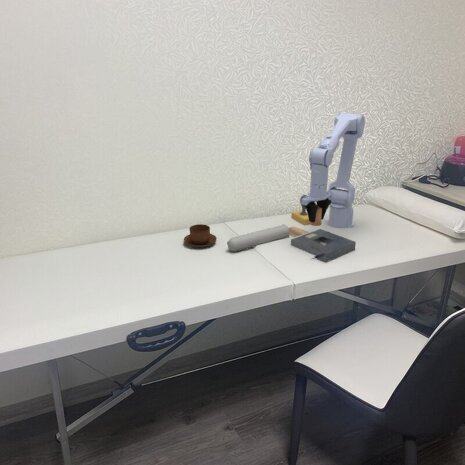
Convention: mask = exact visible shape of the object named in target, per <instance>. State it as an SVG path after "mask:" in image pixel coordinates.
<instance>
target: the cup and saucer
mask: <svg viewBox="0 0 465 465" xmlns="http://www.w3.org/2000/svg"><path fill="white" fill-rule="evenodd" d="M210 230H211V227H210V226H209V225H207V224H202V223H201V224H194V225H191V226H189V234H187V235H186V236H184V238H183V242H184V244H186V245H187V246H189V247H194V248H205V247H210V246H212V245H213V244H215V243H216V241H217V236H216V235H215V234H212V233H211V231H210Z"/></svg>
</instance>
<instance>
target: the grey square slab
mask: <svg viewBox="0 0 465 465" xmlns="http://www.w3.org/2000/svg"><path fill="white" fill-rule="evenodd" d="M322 243H323V244H322ZM356 244H357V242H356V241H355V240H352V239H349V238H347V237H344V236H340V235H338V234H335V233H334V232H330V231H327V230H325V229H322V228H319V229H316V230H314V231H311V232H308V233H305V234H302V235H299V236H297V237H293V238H292V239H290V246H293V247H295V248H297V249H299V250H302V251H304V252H306V253H309V254H311V255H314V256H313V258H315V259H316V258H317V259H316V260H318V261H320V262H321V261H322V262H324V263H328V262H331V261H332V260H334V259H337V258H339V257H341V256H343V255H346V254H348V253H350V252H353V251H355V250H356Z"/></svg>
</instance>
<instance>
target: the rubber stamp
mask: <svg viewBox="0 0 465 465" xmlns="http://www.w3.org/2000/svg"><path fill="white" fill-rule="evenodd" d="M306 196H308V194H307V195H306V194H302V195H301V196H300V198H299V201H300V206H301V208H302V209H301V210H296V211H295V210H294V211H292V212H291V215H290V218H291V219H293V220H294V221H296V222H298V223H299V224H301V225H303V226H308V225H310V221H309V218H308V213H307V210H306V208H305V206H304V205H303V204H301V200H302V199H303V198H305V197H306Z"/></svg>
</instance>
